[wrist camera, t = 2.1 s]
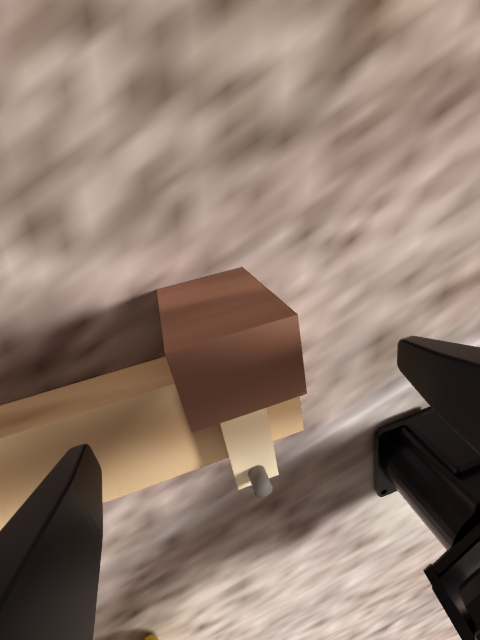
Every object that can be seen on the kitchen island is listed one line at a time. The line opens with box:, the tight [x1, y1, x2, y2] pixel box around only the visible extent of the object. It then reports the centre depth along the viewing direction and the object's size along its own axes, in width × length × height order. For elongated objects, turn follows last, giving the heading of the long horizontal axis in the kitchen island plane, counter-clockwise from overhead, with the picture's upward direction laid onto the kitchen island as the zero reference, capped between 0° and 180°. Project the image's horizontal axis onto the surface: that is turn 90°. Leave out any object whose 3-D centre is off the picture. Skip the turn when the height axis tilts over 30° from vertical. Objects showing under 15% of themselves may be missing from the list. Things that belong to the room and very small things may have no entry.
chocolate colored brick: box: [157, 267, 307, 498], centre depth 14 cm, size 9×4×6 cm, turn 11°
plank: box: [0, 356, 304, 530], centre depth 15 cm, size 5×20×2 cm, turn 101°
